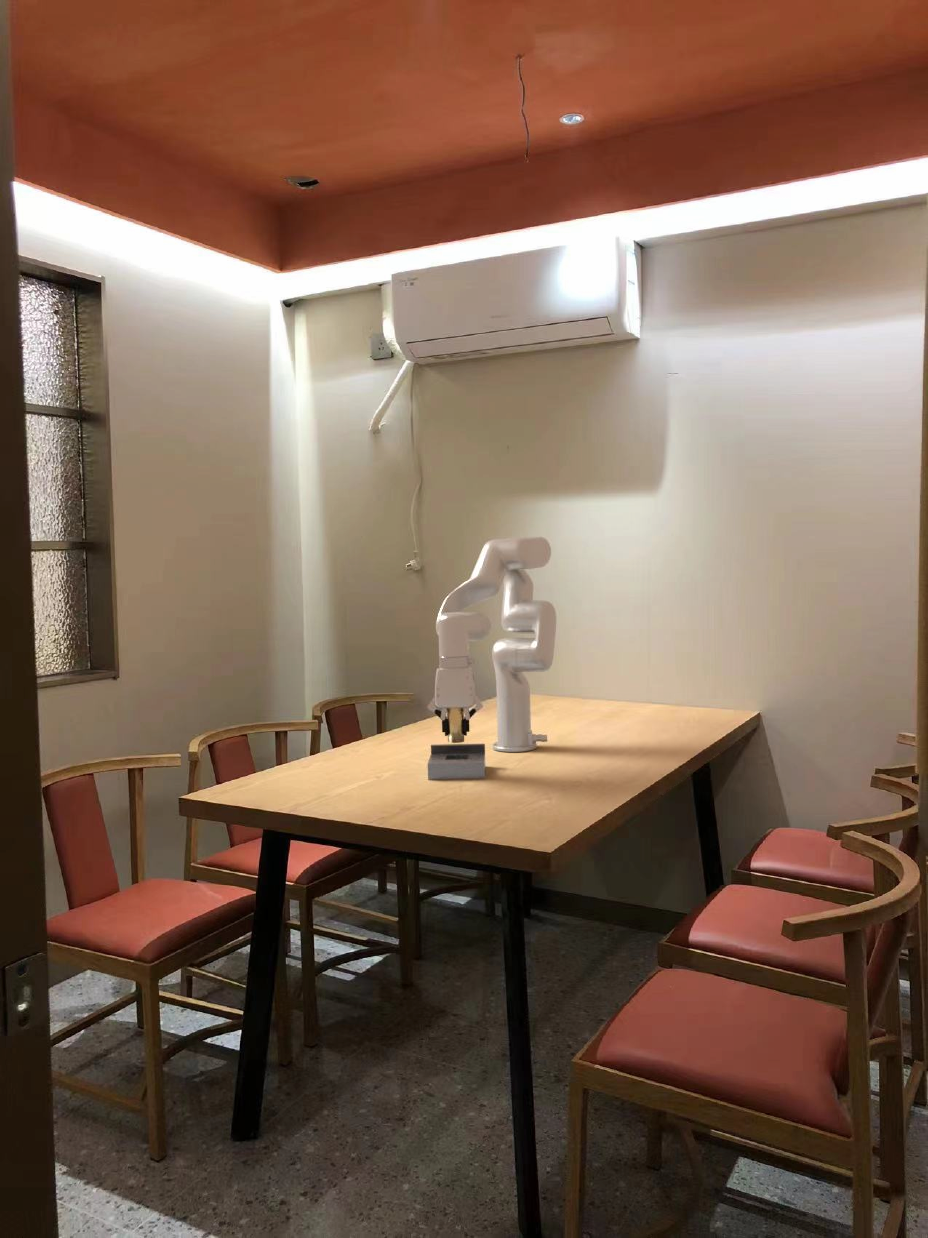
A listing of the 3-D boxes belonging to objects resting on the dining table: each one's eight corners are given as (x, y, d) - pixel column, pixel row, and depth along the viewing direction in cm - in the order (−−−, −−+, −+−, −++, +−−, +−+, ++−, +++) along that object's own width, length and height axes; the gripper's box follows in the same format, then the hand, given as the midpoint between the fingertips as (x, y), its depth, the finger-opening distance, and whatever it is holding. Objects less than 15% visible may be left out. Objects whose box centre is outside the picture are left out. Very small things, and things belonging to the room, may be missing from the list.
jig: (485, 766, 254) (484, 743, 254) (484, 778, 240) (483, 754, 240) (432, 767, 255) (431, 744, 255) (428, 779, 241) (427, 755, 241)
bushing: (464, 739, 249) (463, 704, 248) (464, 742, 245) (463, 707, 244) (448, 740, 249) (447, 705, 249) (447, 743, 245) (446, 707, 244)
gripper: (487, 661, 249) (489, 732, 250) (422, 662, 250) (424, 733, 251) (487, 664, 242) (488, 737, 243) (419, 665, 242) (421, 738, 243)
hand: (455, 734), depth 247 cm, fingers closed on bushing, 4 cm apart
